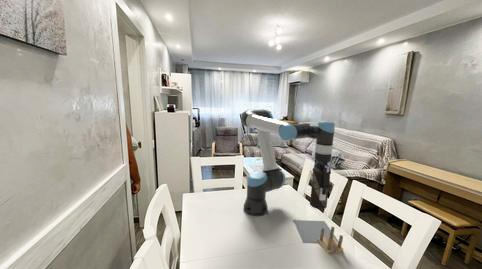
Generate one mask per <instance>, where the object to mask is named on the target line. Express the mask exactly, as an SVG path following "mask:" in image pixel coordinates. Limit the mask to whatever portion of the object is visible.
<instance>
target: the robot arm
mask: <svg viewBox="0 0 482 269" xmlns="http://www.w3.org/2000/svg"><path fill="white" fill-rule="evenodd" d="M240 121H241V124H242V125H243V126H244V127H247V128H249V129H253V131H254V132H256V134H257V139H258V144H259V150H260V153H261V154H260V156H261V159H262V165H263V168H262V170H261V171H257V170H256V171H253V172H251V173H249V174H248V176H247V181H246V183H247V186H246V199H245V202H244V203H243V211H244V213H246V214H247V215H249V216H253V217H262V216H265V215H266V214H268V211H269V210H268V209H269V208H268V203H267V200H266V193H268V192H271V191H274V190H279V189H280V188H282V187H284V185H285V184H286V174H285V172H283V170H281V168H280V166H278V165H277V160H276V156H275V150H274V146H273V141H272V136H271V134H273V135H276V136H279V138H281V139H282V140H284V141H294V140H299V139H313V140H316V142H315V148H314V151H315V153H314V164H313V168H314V167H317V168H319V170H320V171H324V176H322V179H321V185H322V187H320V197H319V200H326V191H327V189H328V190H329V189H330V184H331V182H330V181H331V174H330V171H331V170H332V169H331V167H328V166H329V164H328V163H330V162H331V161H332V153H333V148H334V146H333V144H334V143H333V142H334V138H335V127H336V125H335V123H334V122H333V121H327V120H319V121H318V122H317V124H316V123H308V122H298V123H290V122H286V121H285V122H284V121H282V120H281V121H280V120H278V119H274V117H273V114H272V112H271V111H269V110H268V109H264V108H262V109H246V110H245V111H243V113H242V114H241V117H240ZM331 172H332V171H331ZM312 177H313V174H312Z"/></svg>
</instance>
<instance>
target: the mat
mask: <svg viewBox="0 0 482 269" xmlns="http://www.w3.org/2000/svg"><path fill="white" fill-rule="evenodd" d="M292 222H293V223H294V224H295V227H296V230H297V231H298V234H299V236H300V238H301V241H302V243H303V244H304V243H305V244H319V243H318V242H317V238H320V234H321V229H322V228H323V229H324V236H323V237H327V236H330V232H331V228H330V227H329V225H328V224H327V222H326V221H325V220H302V219H301V220H300V219H298V220H297V219H294V220H293V221H292ZM333 238H334V239H335V240H336V241H337V242H339V239H338V238H337V237H336V235H335V233H334V234H333Z"/></svg>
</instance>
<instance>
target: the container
mask: <svg viewBox="0 0 482 269" xmlns="http://www.w3.org/2000/svg"><path fill="white" fill-rule="evenodd" d="M331 173H332V171H330V175H331ZM312 175H313V176H312V180H311V191H310V199H309V205H310V206H311V207H312V208H314V209H317V210H325V209H327V207H328V206H327V205H328V195H329V189H327V191H326V200H319V197H320V187H322V185H321V179H322V176H324V171H320V170H319V168H317V167H314V166H313V168H312Z"/></svg>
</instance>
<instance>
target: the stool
mask: <svg viewBox="0 0 482 269" xmlns="http://www.w3.org/2000/svg"><path fill="white" fill-rule="evenodd" d="M330 230H331V232H330V236H327V237H323V236H324V229H323V228H322V229H321V234H320V238H317V242H318V243H317V244H319V246H321V247H322V249H323V250H324V251H325V252H326V253H327V254H328V255H329V254H334V253H339V252H343V251H344V248H343V247H342V244H343V241H344V240H343V238H344V236H343V235H341V234H340V235H339V238H338V241H339V242H337V241H336V240H335V239H334V238H333V234H334V235H335V227H334V226H331V228H330Z"/></svg>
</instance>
